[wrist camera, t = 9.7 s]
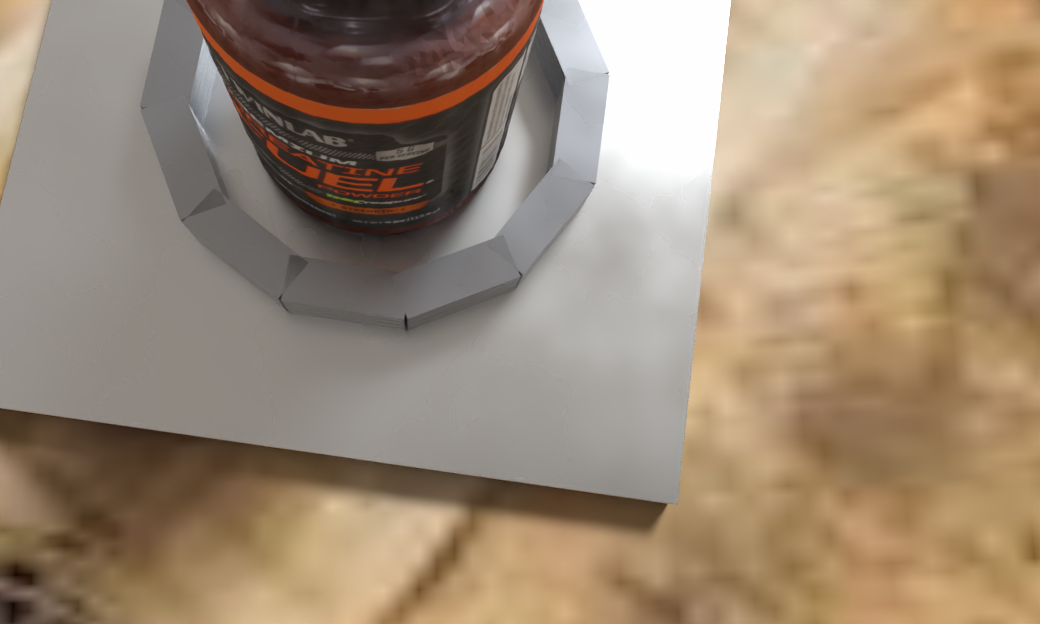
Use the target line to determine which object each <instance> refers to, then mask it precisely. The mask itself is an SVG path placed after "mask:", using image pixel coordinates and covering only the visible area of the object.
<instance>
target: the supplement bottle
mask: <svg viewBox="0 0 1040 624" xmlns="http://www.w3.org/2000/svg"><path fill="white" fill-rule="evenodd" d="M186 1H187V3H188V5H189V7H190V9H191V11H192V13H193V16H194V18H195V20H196V22H197V25H198V27H199V29H200V31H201V34H202V36H203V38H204V40H205V43H206V45H207V47H208V49H209V52H210V55H211V57H212V59H213V61H214V63H215V65H216V67H217V69H218V72H219V74H220V75H221V77H222V79H223V82H224V84H225V86H226V89H227V91H228V93H229V96H230V97H231V99H232V101H233V104H234V106H235V108H236V110H237V112H238V114H239V117H240V119H241V121H242V124H243V126H244V129H245V131H246V133H247V135H248V136H249V138H250V141H251V143H252V145H253V147H254V149H255V151H256V154H257V156H258V157H259V159H260V161H261V163H262V165H263V167H264V169H265V170H266V171H267V172H268V174H269V175H270V177H271V178H272V179H273V181H274V182H275V183H276V184H277V186H278V187H279V188H280V190H281V191H282V192H283V193H284V194H285V195H286V196H287V197H288V198H289V199H291V200H292V201H293V202H294V203H295V204H296V205H298V206H299V207H301V208H302V209H303V210H304V211H306V212H308V213H310V214H311V215H313V216H314V217H316V218H318V219H320V220H322V221H324V222H326V223H328V224H330V225H333V226H337V227H339V228H341V229H344V230H347V231H353V232H358V233H368V234H394V233H401V232H406V231H411V230H415V229H419V228H422V227H426V226H428V225H430V224H432V223H435V222H439V221H441V220H443V219H445V218H446V217H448V216H449V215H451V214H452V213H454V212H455V211H457V210H458V209H460V208H461V207H462V206H463V205H464V204H465V203H466V202H467V201H469V200H470V199H471V197H472V196H473V195H474V194H475V193H476V192H477V191H478V190H479V189H480V188H481V187H482V185H483V184H484V183H485V181H486V179H487V178H488V176H489V175H490V173H491V172H492V170H493V169H494V166H495V164H496V162H497V160H498V158H499V155H500V152H501V150H502V148H503V146H504V143H505V140H506V136H507V133H508V128H509V124H510V121H511V117H512V114H513V110H514V107H515V103H516V100H517V96H518V92H519V89H520V84H521V81H522V79H523V75H524V71H525V67H526V64H527V60H528V57H529V53H530V50H531V46H532V43H533V39H534V36H535V33H536V29H537V26H538V22H539V19H540V15H541V12H542V7H543V2H544V0H186Z"/></svg>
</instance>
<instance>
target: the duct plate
mask: <svg viewBox="0 0 1040 624" xmlns="http://www.w3.org/2000/svg"><path fill="white" fill-rule="evenodd" d="M729 10H730V0H544V2H543V7H542V12H541V15H540V19H539V22H538V26H537V29H536V33H535V36H534V39H533V43H532V46H531V50H530V53H529V57H528V60H527V64H526V67H525V71H524V75H523V79H522V81H521V84H520V89H519V92H518V96H517V100H516V103H515V107H514V110H513V114H512V117H511V121H510V124H509V128H508V133H507V136H506V140H505V143H504V146H503V148H502V150H501V152H500V155H499V158H498V160H497V162H496V164H495V166H494V169H493V170H492V172H491V173H490V175H489V176H488V178H487V179H486V181H485V183H484V184H483V185H482V187H481V188H480V189H479V190H478V191H477V192H476V193H475V194H474V195H473V196H472V197H471V199H470V200H469V201H467V202H466V203H465V204H464V205H463V206H462V207H461V208H460V209H458V210H457V211H455V212H454V213H452V214H451V215H449V216H448V217H446V218H445V219H443V220H441V221H439V222H435V223H432V224H430V225H428V226H426V227H422V228H419V229H415V230H411V231H406V232H401V233H394V234H368V233H358V232H353V231H347V230H344V229H341V228H339V227H337V226H333V225H330V224H328V223H326V222H324V221H322V220H320V219H318V218H316V217H314V216H313V215H311V214H310V213H308V212H306V211H304V210H303V209H302V208H301V207H299V206H298V205H296V204H295V203H294V202H293V201H292V200H291V199H289V198H288V197H287V196H286V195H285V194H284V193H283V192H282V191H281V190H280V188H279V187H278V186H277V184H276V183H275V182H274V181H273V179H272V178H271V177H270V175H269V174H268V172H267V171H266V170H265V169H264V167H263V165H262V163H261V161H260V159H259V157H258V156H257V154H256V151H255V149H254V147H253V145H252V143H251V141H250V138H249V136H248V135H247V133H246V131H245V129H244V126H243V124H242V121H241V119H240V117H239V114H238V112H237V110H236V108H235V106H234V104H233V101H232V99H231V97H230V96H229V93H228V91H227V89H226V86H225V84H224V82H223V79H222V77H221V75H220V74H219V72H218V69H217V67H216V65H215V63H214V61H213V59H212V57H211V55H210V52H209V49H208V47H207V45H206V43H205V40H204V38H203V36H202V34H201V31H200V29H199V27H198V25H197V22H196V20H195V18H194V16H193V13H192V11H191V9H190V7H189V5H188V3H187V1H186V0H52V2H51V6H50V10H49V14H48V18H47V22H46V26H45V30H44V34H43V38H42V42H41V46H40V50H39V54H38V58H37V61H36V65H35V69H34V73H33V77H32V81H31V85H30V89H29V93H28V97H27V101H26V105H25V109H24V113H23V117H22V121H21V125H20V129H19V133H18V137H17V141H16V145H15V149H14V153H13V157H12V161H11V165H10V169H9V173H8V177H7V181H6V185H5V189H4V193H3V197H2V201H1V205H0V409H7V410H14V411H21V412H28V413H35V414H42V415H49V416H56V417H63V418H70V419H77V420H84V421H91V422H98V423H105V424H112V425H119V426H126V427H133V428H140V429H147V430H154V431H161V432H168V433H175V434H182V435H189V436H196V437H203V438H210V439H217V440H224V441H231V442H238V443H245V444H252V445H259V446H266V447H273V448H280V449H287V450H294V451H301V452H308V453H315V454H322V455H329V456H336V457H343V458H350V459H357V460H364V461H371V462H378V463H385V464H392V465H399V466H406V467H413V468H420V469H427V470H434V471H441V472H448V473H455V474H462V475H469V476H476V477H483V478H490V479H497V480H504V481H511V482H518V483H525V484H532V485H539V486H546V487H553V488H560V489H567V490H574V491H581V492H588V493H595V494H602V495H609V496H616V497H623V498H630V499H637V500H644V501H651V502H658V503H665V504H676V505H677V503H678V494H679V484H680V475H681V465H682V456H683V446H684V437H685V427H686V418H687V408H688V399H689V389H690V380H691V370H692V361H693V351H694V342H695V332H696V323H697V313H698V304H699V294H700V285H701V275H702V266H703V256H704V247H705V238H706V228H707V219H708V209H709V200H710V190H711V181H712V171H713V162H714V152H715V143H716V133H717V124H718V114H719V105H720V95H721V86H722V76H723V67H724V57H725V48H726V38H727V29H728V19H729Z"/></svg>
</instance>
